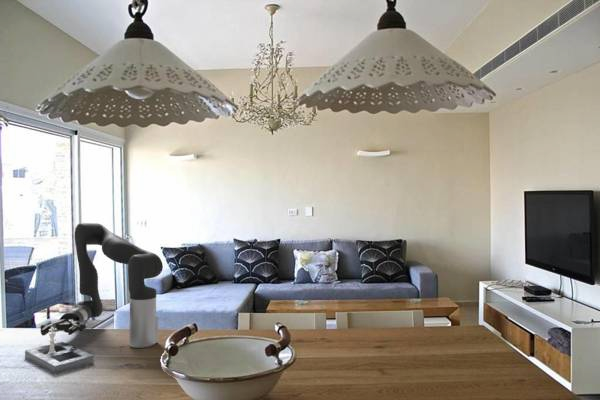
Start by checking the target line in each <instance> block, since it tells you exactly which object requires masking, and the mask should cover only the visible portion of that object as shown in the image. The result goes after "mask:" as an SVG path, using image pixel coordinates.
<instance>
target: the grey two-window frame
mask: <svg viewBox="0 0 600 400" xmlns="http://www.w3.org/2000/svg"><path fill="white" fill-rule="evenodd" d="M54 349H55V351H56V352H55V353H51V354H48V352H49V350H50V344H47V345H43V346H39V347H34V348H30V349H26V350H24V358H25V359H26V360H27V361H29V362H32V363H33V364H35V365H37V366H39V367H41V368H43V369H44V370H46V371H48V372H50V373H52V374H53V375H58V374H61V373H64V372H68V371H72V370H76V369H79V368H82V367H85V366H89V365H93V364H94V361H95V357H94V355H93V354H91V353H89V352H87V351H84V350H82V349H80V348H77V347H75V346H73V345H71V344H69V343H67V342H64V341H60V342H56V343H55V342H54ZM45 354H47V355H45Z"/></svg>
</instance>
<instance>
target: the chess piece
mask: <svg viewBox="0 0 600 400" xmlns="http://www.w3.org/2000/svg"><path fill="white" fill-rule="evenodd" d="M49 330H50V331H51V332H49V333H48V336H49V339H48V342H49V343H50V344H49V345H50V350H49V352H48V354H51V353H55V352H56V351H55V349H54V344H55V341H56V339H55V337H56V334H57V332H53V330H56V328H53V327H51V329H49ZM45 355H47V354H45Z"/></svg>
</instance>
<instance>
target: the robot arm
mask: <svg viewBox="0 0 600 400" xmlns="http://www.w3.org/2000/svg"><path fill="white" fill-rule="evenodd" d="M74 244H75V251H76V256H77V257H76V258H77V263H78V273H79V294H80V295H82V296H87V297H90V299H91V300H81V301H78V302H77V303H76V304H75V307H74V308H72V309H70V310H69V311H67V312H65V313H64V314H63V315H61V316H60V319H59V320H57V321H54V322H52V320H48V321H46V322H44V323H42V324H40V334H41V336H46V335H47V334H49V333H51V331H50V330H51V327H53V328H55V330H53V332H55V333H58V332H64V333H67V334H68V335H67V336H71V335H73V334H74V333H77V332H80V333H81V332H84V331H85V330H86V329H87V328H88V321H89V320H90V319H91V318H93V319H94V318H98V317H100V316H101V315H102V313H103V310H104V306H103V303H102V300H101V297H100V292H99V275H98V273H99V272H98V271H97V268H96V267H95V265H94V263H93V261H92V259H91V258H90V255H89V253H88V249H87V248H88V246H87V245H89V246H90V245H92V246H93V245H95V246H97V245H98V246H101V250H102V253H103V255H105V256H104V257H107V258H108V259H110V260H111V261H113V262H115V263H119V264H123V265H127V275H128V276H127V278H128V279H127V280H128V283H127V284H128V291H129V326H128V327H129V333H128V334H129V335H128V339H129V340H128V345H129V347H131V348H137V349H138V348H139V349H140V348H149V347H152V346H154V345H155V344H156V343H157V342H158V343H159V317H158V316H157V289H156V288H154V287H150V286H147V285H146V284H145V283H146V282H145V280H147V279H153V278H156V277H159V275H161V273H162V271H163V265H164V264H163V262H162V259H161V257H160V256H159V255H158V254H156V253H154V252H152V251H149V250H145V249H143V248H141V247H140V246H137V245H136V244H133V243H131V242H130V241H128V240H127V239H124V238H123V237H122V236H119V235H117V234H116V233H114V232H111V231H110V230H109V229H108V228H106V227H105V226H104V225H103V224H100V223H98V222H97V223H96V222H95V223H93V222H92V223H91V222H81V223H78V224H76V227H75V229H74Z"/></svg>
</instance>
